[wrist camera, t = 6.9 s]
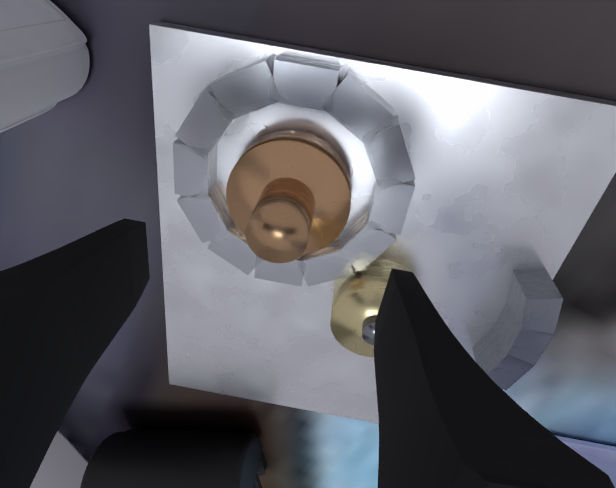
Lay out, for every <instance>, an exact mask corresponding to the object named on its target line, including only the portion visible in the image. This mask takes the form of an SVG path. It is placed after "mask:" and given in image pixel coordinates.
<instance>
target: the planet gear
mask: <svg viewBox="0 0 616 488" xmlns="http://www.w3.org/2000/svg"><path fill="white" fill-rule="evenodd" d="M351 192H352V184H351V177H350V173H349V170H348V168H347V165H346V164H345V162H344V160H343V158H342V157H341V156H340V154H339V153H338V152H337V151H336V150H335V149H334V148H333V147H332V146H331V145H330V144H328V143H327V142H326V141H324V140H322V139H321V138H319V137H317V136H315V135H312V134H310V133H306V132H302V131H296V130H283V131H276V132H272V133H269V134H267V135H264V136H262V137H260V138H259V139H257V140H255V141H254V142H253V143H252V144H250V145H249V147H248V148H247V149H246V150H245V151H244V153H243V154H242V155H241V157H240V158H239V160H238V162H237V163H236V165H235V166H234V168H233V169H232V171H231V173H230V175H229V179H228V182H227V187H226V201H227V206H228V210H229V213H230V215H231V218H232V219H233V221H234V223H235V225H236V226H237V227H238V229H239V230H240V231H241V232H242V233H243V234H244V235H245V238H246V241H247V244H248V246H249V248H250V249H251V250H252V251H253V253H254V254H256V255H257V256H258V257H260V258H261V259H263V260H265V261H268V262H271V263H288V262H291V261H294V260H296V259H297V258H299V257H300V256H301V255H302V254H308V253H312V252H315V251H318V250H320V249H322V248H324V247H326V246H327V245H329V244H330V243H331V242H333V241H334V240H335V239H336V238H337V237H338V236H339V235H340V233H341V232H342V231H343V229H344V227H345V225H346V223H347V221H348V218H349V214H350V208H351Z"/></svg>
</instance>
